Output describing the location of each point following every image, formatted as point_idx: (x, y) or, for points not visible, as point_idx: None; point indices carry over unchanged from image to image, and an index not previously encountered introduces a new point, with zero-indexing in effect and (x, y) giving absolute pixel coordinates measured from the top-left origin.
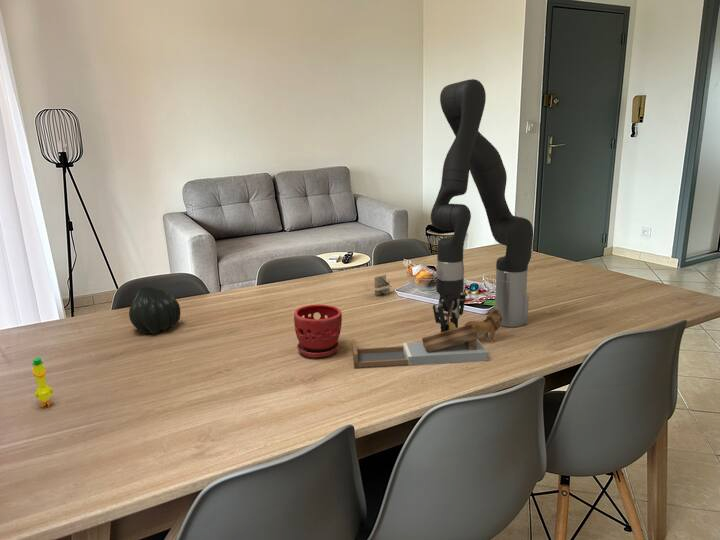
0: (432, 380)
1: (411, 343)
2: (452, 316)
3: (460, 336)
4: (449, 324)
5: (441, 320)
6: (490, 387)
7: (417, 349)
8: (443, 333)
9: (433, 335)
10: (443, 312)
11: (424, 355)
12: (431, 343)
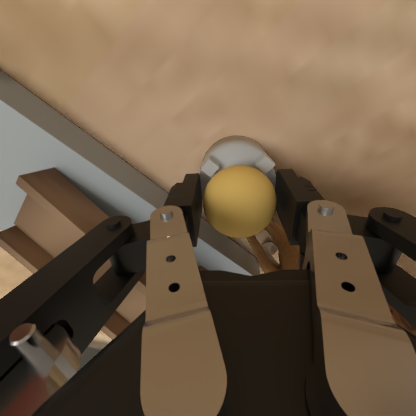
0: (3, 271)
1: (3, 110)
2: (304, 226)
3: (113, 337)
4: (222, 228)
5: (100, 281)
6: (98, 342)
7: (2, 178)
8: (107, 260)
9: (65, 225)
10: (82, 350)
11: (4, 228)
12: (17, 254)
